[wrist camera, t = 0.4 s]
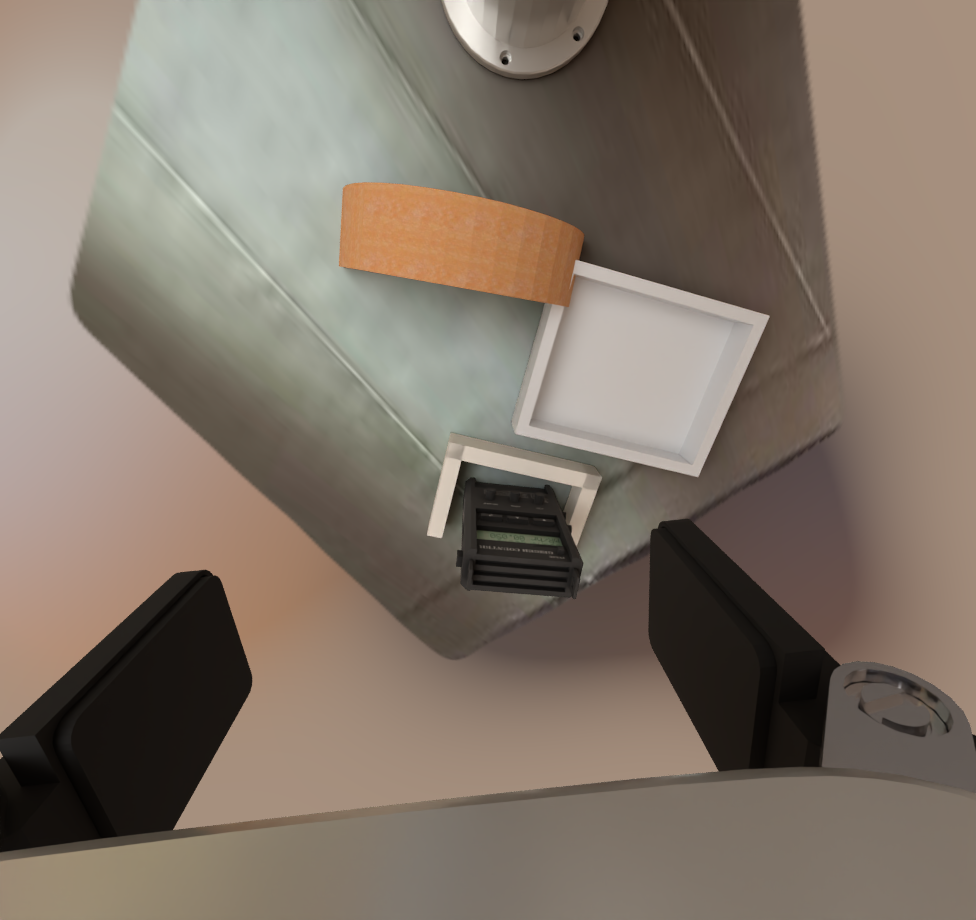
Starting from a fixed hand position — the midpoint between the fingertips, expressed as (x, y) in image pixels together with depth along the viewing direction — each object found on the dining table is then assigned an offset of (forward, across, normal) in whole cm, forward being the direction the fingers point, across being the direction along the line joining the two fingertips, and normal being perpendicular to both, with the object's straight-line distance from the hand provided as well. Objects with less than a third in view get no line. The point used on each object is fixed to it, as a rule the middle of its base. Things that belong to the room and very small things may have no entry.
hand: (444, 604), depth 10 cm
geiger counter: (+36, -4, +13) cm, 38 cm away
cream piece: (+35, -4, +13) cm, 38 cm away
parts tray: (+35, -15, +1) cm, 38 cm away
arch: (+35, -1, -10) cm, 37 cm away
